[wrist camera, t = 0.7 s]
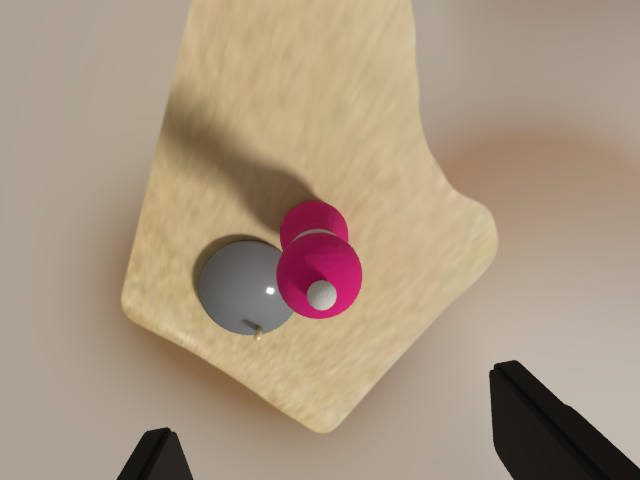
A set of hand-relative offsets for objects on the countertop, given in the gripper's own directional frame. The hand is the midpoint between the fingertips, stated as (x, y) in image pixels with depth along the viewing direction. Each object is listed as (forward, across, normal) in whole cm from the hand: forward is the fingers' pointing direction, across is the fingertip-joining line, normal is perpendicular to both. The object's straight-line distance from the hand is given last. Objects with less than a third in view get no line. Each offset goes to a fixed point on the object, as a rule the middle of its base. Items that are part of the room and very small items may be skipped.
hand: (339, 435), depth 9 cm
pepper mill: (+29, 0, 0) cm, 29 cm away
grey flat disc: (+29, +9, +6) cm, 31 cm away
